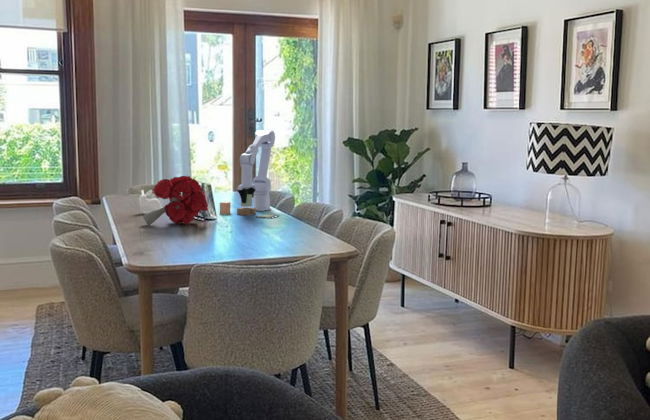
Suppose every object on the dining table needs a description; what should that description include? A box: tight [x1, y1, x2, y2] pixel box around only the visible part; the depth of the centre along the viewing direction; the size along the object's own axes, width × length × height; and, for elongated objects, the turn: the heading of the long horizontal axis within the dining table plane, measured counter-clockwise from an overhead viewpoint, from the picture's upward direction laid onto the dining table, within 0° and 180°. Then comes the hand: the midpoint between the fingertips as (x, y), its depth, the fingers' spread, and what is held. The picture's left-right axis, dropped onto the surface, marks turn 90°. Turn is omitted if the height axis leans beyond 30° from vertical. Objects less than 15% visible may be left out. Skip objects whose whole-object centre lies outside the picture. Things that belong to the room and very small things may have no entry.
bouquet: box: [142, 175, 209, 226], centre depth 298 cm, size 22×24×30 cm
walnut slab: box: [236, 206, 257, 216], centre depth 339 cm, size 7×7×4 cm
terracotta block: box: [219, 201, 231, 215], centre depth 339 cm, size 4×4×6 cm
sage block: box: [240, 194, 253, 207], centre depth 338 cm, size 4×4×6 cm
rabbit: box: [138, 189, 164, 215], centre depth 333 cm, size 12×9×12 cm
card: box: [255, 213, 280, 219], centre depth 332 cm, size 10×8×1 cm
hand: (246, 202), depth 339 cm, fingers closed on sage block, 4 cm apart
